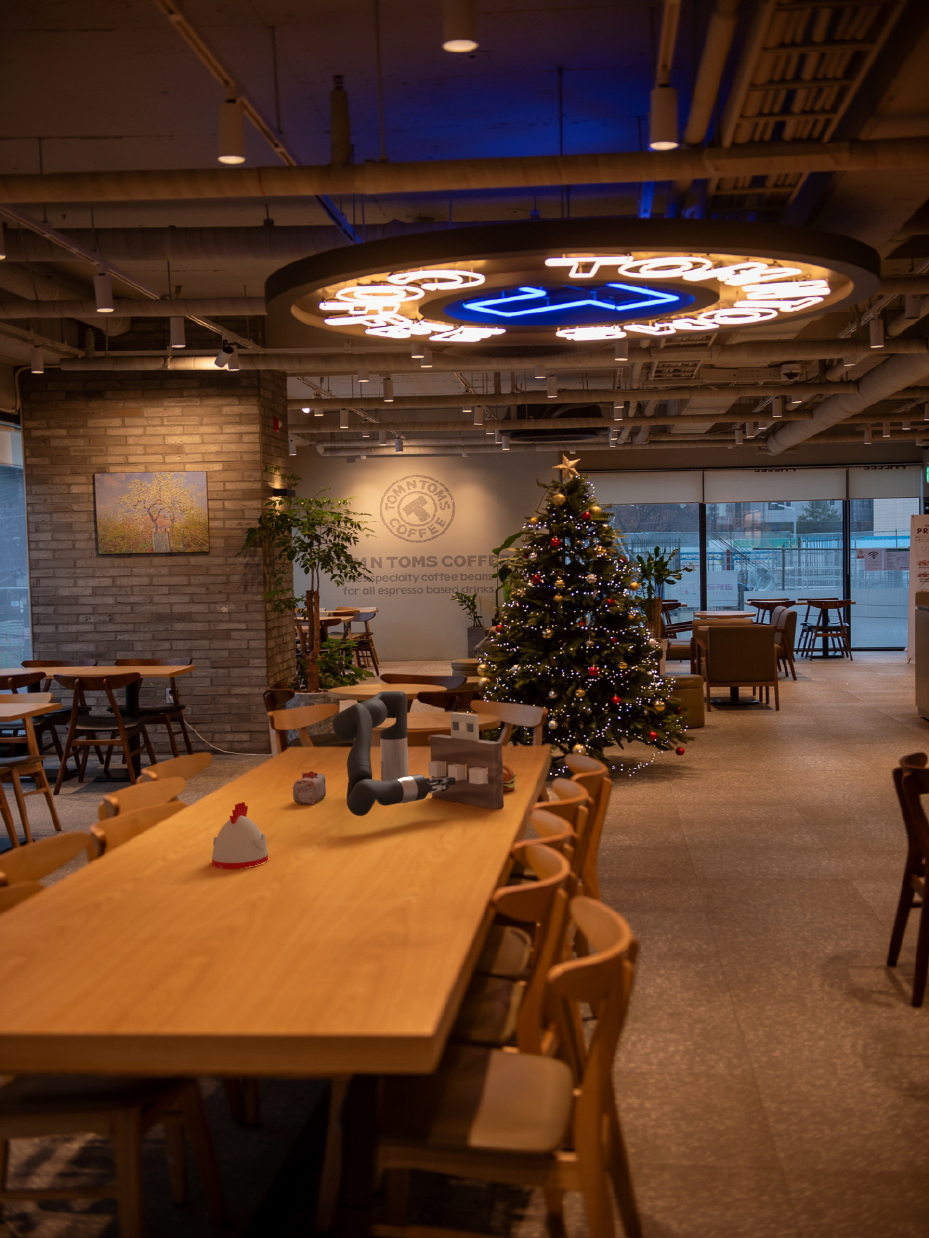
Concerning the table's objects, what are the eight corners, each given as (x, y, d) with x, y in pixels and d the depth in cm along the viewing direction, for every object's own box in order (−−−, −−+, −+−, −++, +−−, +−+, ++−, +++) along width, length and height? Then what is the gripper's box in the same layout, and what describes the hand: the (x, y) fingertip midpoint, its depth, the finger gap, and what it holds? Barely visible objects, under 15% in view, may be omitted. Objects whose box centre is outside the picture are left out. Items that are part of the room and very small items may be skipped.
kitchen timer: (277, 856, 277) (275, 798, 276) (252, 870, 264) (250, 809, 263) (228, 854, 281) (226, 797, 280) (202, 868, 267) (199, 808, 267)
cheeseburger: (517, 785, 364) (516, 758, 362) (516, 799, 354) (515, 771, 351) (487, 785, 365) (486, 758, 363) (485, 799, 355) (484, 771, 352)
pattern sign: (475, 741, 334) (474, 715, 334) (450, 737, 343) (449, 712, 343) (479, 740, 335) (478, 715, 335) (454, 737, 344) (453, 712, 344)
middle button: (457, 780, 335) (457, 766, 334) (448, 778, 338) (448, 765, 338) (465, 779, 337) (465, 765, 337) (456, 777, 340) (456, 763, 340)
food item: (315, 806, 341) (314, 775, 341) (291, 806, 342) (290, 775, 342) (328, 797, 354) (327, 768, 354) (305, 797, 356) (304, 768, 355)
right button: (478, 784, 327) (478, 770, 327) (469, 782, 330) (468, 768, 330) (487, 782, 329) (486, 768, 329) (477, 781, 333) (477, 766, 333)
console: (494, 809, 327) (492, 744, 327) (432, 796, 350) (430, 735, 350) (503, 807, 330) (501, 742, 330) (441, 794, 353) (439, 734, 352)
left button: (437, 776, 342) (436, 763, 342) (428, 775, 345) (428, 761, 345) (445, 775, 344) (445, 761, 344) (436, 773, 348) (436, 760, 348)
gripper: (422, 778, 307) (468, 770, 318) (394, 773, 317) (439, 765, 328) (423, 804, 307) (468, 795, 319) (395, 798, 317) (440, 790, 329)
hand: (453, 780), depth 323 cm, fingers closed
